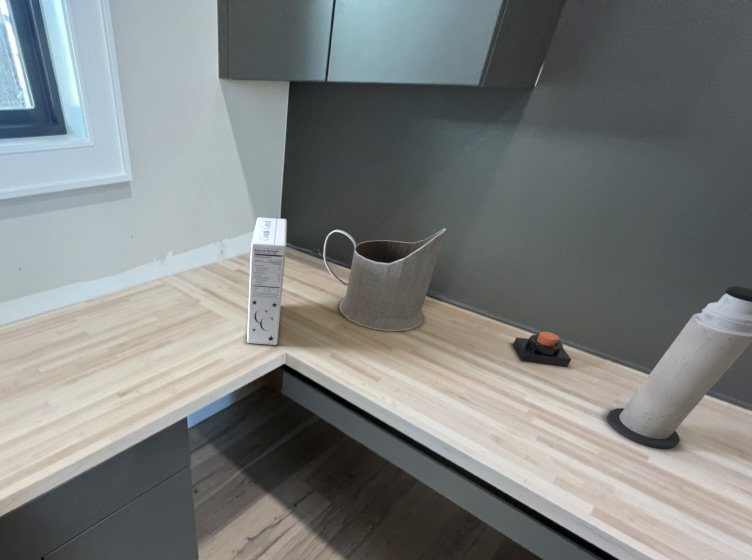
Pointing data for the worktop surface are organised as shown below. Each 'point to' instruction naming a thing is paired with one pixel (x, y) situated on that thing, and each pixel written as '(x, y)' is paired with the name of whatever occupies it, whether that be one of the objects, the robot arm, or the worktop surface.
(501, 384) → the worktop surface
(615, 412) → the coaster
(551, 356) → the button block
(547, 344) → the lid button
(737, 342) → the thermos bottle
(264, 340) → the cereal box
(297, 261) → the worktop surface
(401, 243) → the pitcher
